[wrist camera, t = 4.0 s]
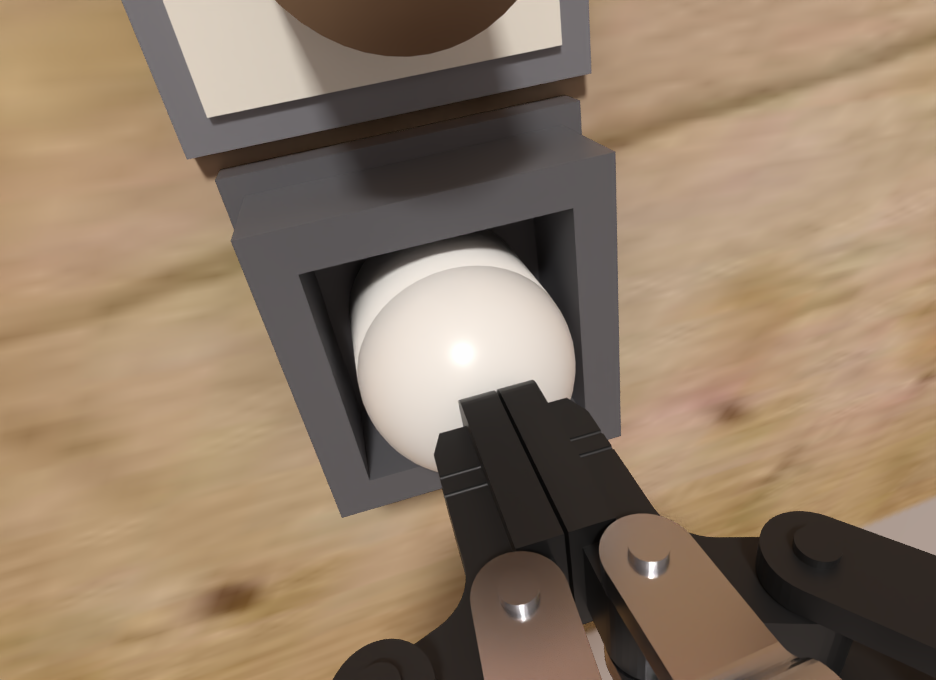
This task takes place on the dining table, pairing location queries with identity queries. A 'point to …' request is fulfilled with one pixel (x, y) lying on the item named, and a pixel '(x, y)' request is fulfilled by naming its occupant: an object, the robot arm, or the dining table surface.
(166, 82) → the game board
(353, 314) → the dome
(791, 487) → the dining table surface
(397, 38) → the brown cylinder
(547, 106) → the button base
